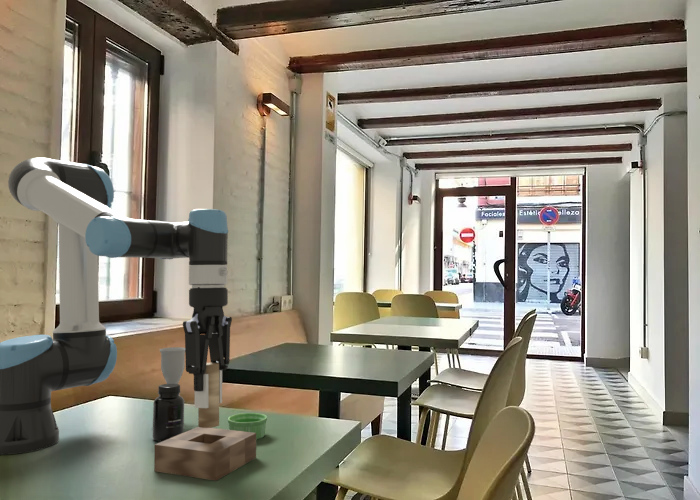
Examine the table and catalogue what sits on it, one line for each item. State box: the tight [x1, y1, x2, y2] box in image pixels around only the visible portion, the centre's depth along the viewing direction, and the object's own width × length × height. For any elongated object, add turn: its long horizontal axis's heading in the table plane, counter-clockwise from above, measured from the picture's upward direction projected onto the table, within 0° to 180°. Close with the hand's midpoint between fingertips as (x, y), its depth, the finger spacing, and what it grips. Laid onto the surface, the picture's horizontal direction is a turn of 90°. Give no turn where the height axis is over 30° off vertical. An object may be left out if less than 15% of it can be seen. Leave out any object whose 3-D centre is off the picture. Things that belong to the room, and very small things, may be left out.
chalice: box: [159, 346, 186, 384], centre depth 150 cm, size 7×7×18 cm
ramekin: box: [227, 412, 268, 441], centre depth 134 cm, size 9×9×4 cm
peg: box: [197, 362, 220, 428], centre depth 115 cm, size 4×4×12 cm
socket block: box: [153, 426, 257, 482], centre depth 115 cm, size 14×14×5 cm
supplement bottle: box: [152, 383, 185, 442], centre depth 133 cm, size 7×7×12 cm
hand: (208, 404), depth 115 cm, fingers closed on peg, 4 cm apart
